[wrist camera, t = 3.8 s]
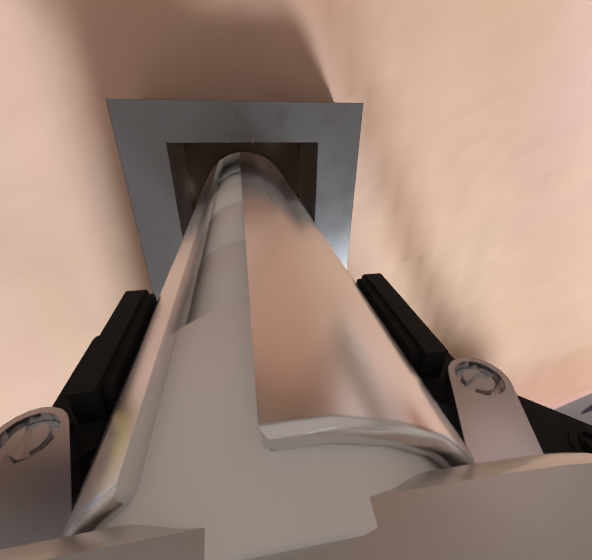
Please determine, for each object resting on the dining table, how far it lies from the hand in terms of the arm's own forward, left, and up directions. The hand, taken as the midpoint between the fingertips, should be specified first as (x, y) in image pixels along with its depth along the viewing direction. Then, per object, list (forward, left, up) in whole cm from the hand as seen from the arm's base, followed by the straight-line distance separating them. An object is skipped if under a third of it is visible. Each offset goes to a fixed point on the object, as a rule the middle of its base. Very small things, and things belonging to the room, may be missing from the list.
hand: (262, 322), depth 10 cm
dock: (+7, 0, -18) cm, 19 cm away
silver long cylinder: (0, 0, -18) cm, 18 cm away
